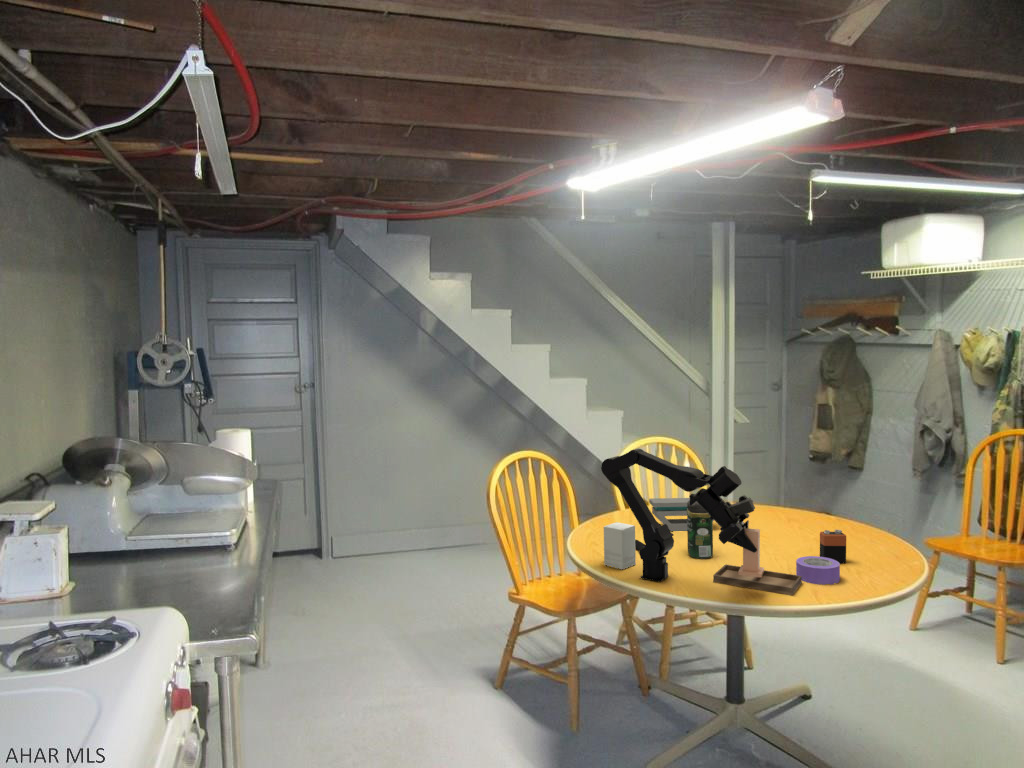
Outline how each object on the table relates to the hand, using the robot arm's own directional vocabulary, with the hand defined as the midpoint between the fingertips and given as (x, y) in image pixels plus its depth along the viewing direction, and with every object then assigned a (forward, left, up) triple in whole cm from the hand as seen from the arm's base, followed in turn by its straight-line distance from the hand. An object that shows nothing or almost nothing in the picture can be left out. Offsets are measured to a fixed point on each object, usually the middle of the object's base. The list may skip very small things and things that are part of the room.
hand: (756, 549), depth 196 cm
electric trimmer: (-42, +22, -13) cm, 49 cm away
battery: (+13, +43, -13) cm, 46 cm away
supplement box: (-43, +5, -13) cm, 46 cm away
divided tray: (-2, +10, -12) cm, 17 cm away
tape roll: (+12, +23, -13) cm, 29 cm away
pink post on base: (-1, 0, -7) cm, 7 cm away
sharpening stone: (-41, +58, -13) cm, 73 cm away
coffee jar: (-25, +29, -13) cm, 40 cm away
